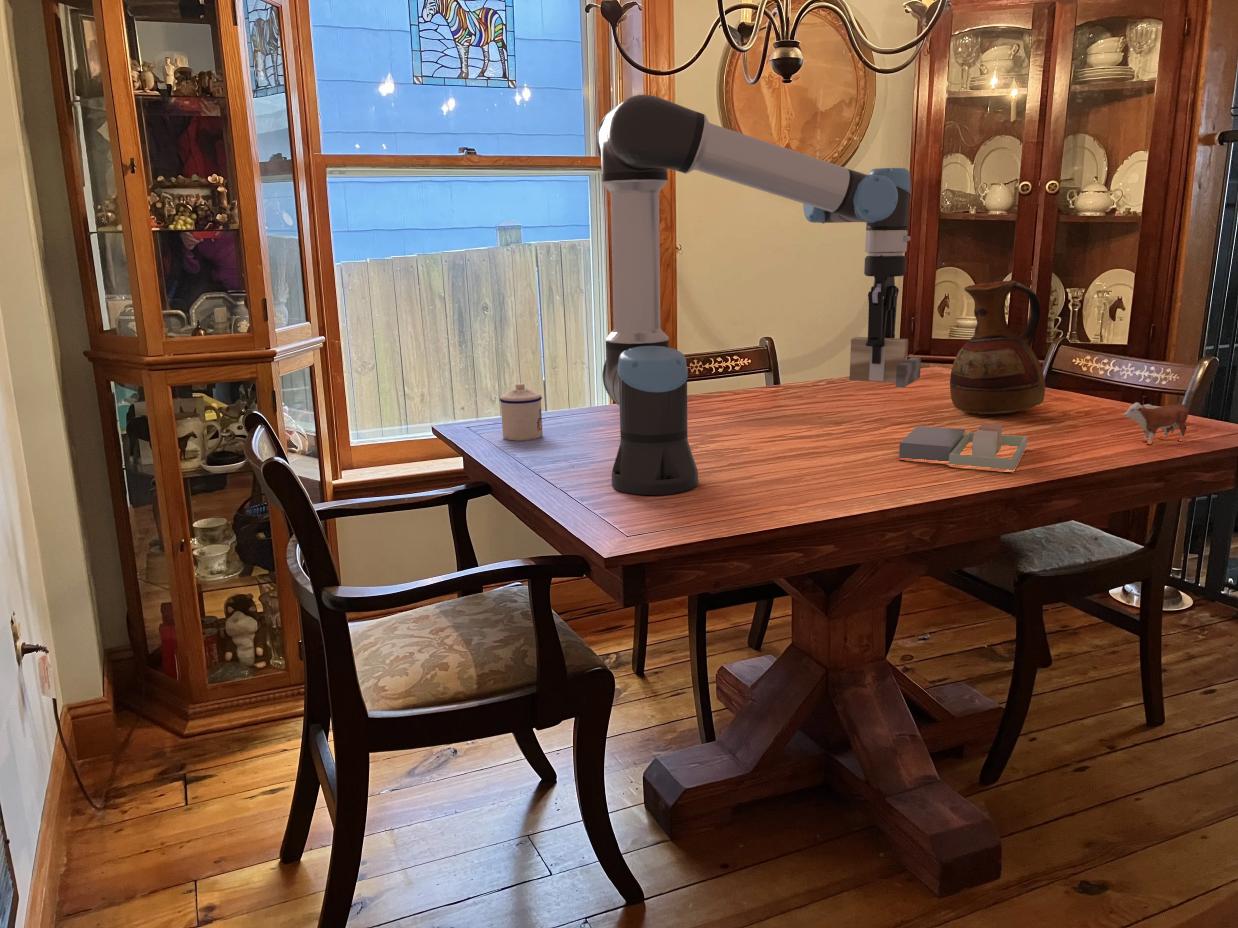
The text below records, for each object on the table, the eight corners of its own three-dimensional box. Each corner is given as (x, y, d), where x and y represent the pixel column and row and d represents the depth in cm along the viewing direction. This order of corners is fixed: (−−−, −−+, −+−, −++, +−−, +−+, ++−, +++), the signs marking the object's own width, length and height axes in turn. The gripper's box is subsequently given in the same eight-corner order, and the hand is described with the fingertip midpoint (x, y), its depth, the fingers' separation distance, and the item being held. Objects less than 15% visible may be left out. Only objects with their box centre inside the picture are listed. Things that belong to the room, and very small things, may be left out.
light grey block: (971, 462, 173) (991, 464, 171) (973, 435, 172) (993, 437, 170) (975, 456, 177) (995, 458, 176) (977, 430, 176) (997, 431, 174)
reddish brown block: (977, 453, 179) (996, 455, 177) (978, 427, 178) (998, 429, 176) (981, 448, 183) (1000, 449, 182) (982, 422, 182) (1002, 424, 180)
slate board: (949, 465, 173) (950, 446, 172) (898, 460, 177) (899, 442, 176) (963, 446, 187) (964, 429, 186) (916, 442, 191) (917, 425, 190)
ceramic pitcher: (938, 405, 228) (945, 278, 220) (1024, 404, 226) (1034, 276, 219) (962, 422, 209) (971, 283, 201) (1056, 420, 207) (1068, 281, 200)
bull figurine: (1117, 442, 186) (1121, 401, 184) (1176, 437, 189) (1180, 397, 187) (1133, 447, 182) (1137, 405, 180) (1193, 442, 185) (1198, 400, 183)
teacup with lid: (548, 438, 204) (545, 385, 201) (506, 443, 202) (503, 388, 199) (535, 428, 215) (532, 377, 213) (495, 432, 213) (492, 380, 210)
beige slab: (904, 387, 175) (906, 344, 173) (842, 383, 180) (843, 341, 178) (919, 377, 186) (922, 336, 184) (861, 374, 191) (862, 334, 189)
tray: (1013, 473, 166) (1014, 459, 165) (948, 467, 171) (949, 454, 171) (1026, 449, 183) (1027, 436, 182) (966, 444, 188) (967, 432, 188)
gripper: (895, 256, 169) (888, 386, 174) (916, 253, 183) (909, 374, 188) (853, 256, 172) (847, 384, 178) (877, 253, 186) (871, 371, 192)
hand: (879, 378), depth 183 cm, fingers closed on beige slab, 3 cm apart
